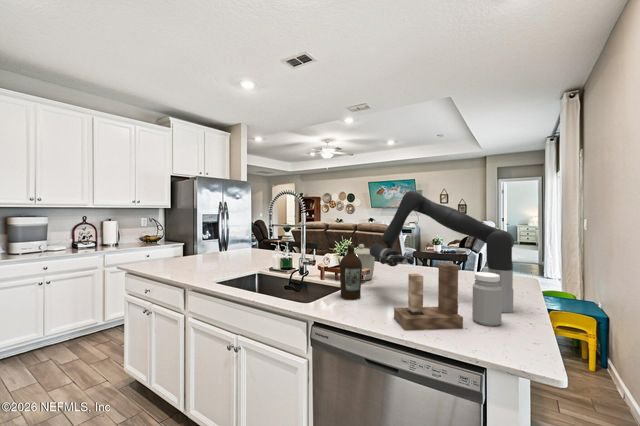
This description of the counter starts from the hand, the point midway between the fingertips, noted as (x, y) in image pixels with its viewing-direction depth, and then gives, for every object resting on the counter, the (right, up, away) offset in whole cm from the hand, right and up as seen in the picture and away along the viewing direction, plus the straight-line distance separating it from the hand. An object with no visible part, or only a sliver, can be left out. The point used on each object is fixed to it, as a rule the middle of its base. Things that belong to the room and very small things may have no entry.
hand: (402, 262), depth 128 cm
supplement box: (+54, -20, +29) cm, 65 cm away
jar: (+28, -21, -13) cm, 37 cm away
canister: (-9, -20, +59) cm, 63 cm away
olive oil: (-20, -20, +19) cm, 34 cm away
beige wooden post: (+1, -20, -14) cm, 25 cm away
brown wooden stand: (+6, -20, -14) cm, 25 cm away
